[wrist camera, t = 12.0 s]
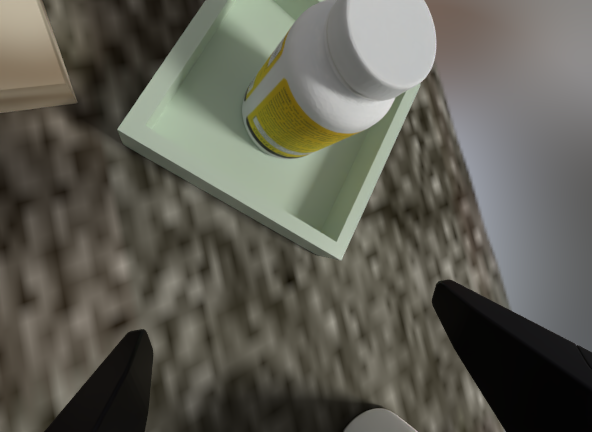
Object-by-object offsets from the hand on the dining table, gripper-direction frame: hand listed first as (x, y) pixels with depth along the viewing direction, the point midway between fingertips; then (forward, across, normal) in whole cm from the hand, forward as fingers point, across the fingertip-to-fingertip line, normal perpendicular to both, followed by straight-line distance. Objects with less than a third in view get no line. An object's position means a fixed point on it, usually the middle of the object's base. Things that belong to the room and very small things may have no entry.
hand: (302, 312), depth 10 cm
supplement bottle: (+13, -2, -3) cm, 14 cm away
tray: (+14, -2, -3) cm, 14 cm away
